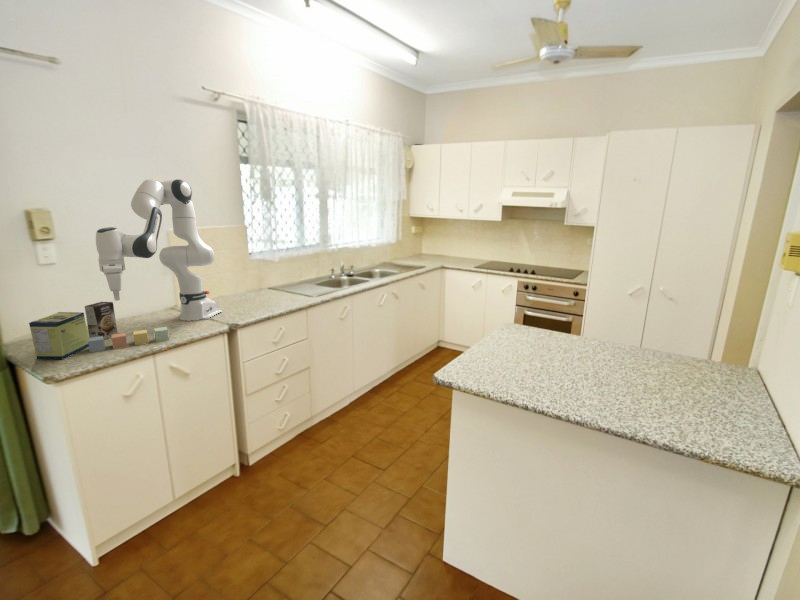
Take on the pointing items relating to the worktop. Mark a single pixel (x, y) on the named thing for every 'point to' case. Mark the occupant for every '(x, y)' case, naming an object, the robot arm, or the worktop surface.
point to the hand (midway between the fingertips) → (117, 298)
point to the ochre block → (140, 337)
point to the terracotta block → (119, 340)
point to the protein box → (59, 335)
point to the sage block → (161, 334)
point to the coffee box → (101, 319)
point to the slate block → (96, 343)
